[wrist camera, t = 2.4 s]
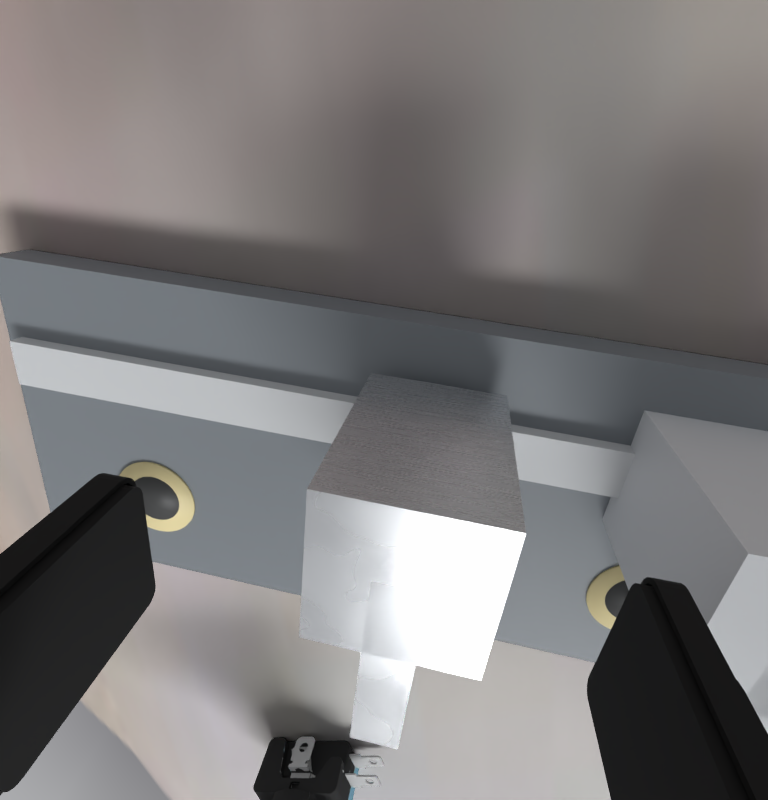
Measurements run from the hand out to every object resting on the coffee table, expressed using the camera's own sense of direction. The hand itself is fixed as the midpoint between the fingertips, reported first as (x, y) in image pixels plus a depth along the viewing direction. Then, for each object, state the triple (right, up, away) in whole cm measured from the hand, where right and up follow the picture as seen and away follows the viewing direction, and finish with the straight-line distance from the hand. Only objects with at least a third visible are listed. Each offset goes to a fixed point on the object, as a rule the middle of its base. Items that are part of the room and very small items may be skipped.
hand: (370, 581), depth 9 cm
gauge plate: (+1, +1, +9) cm, 9 cm away
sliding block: (+2, +1, +7) cm, 7 cm away
